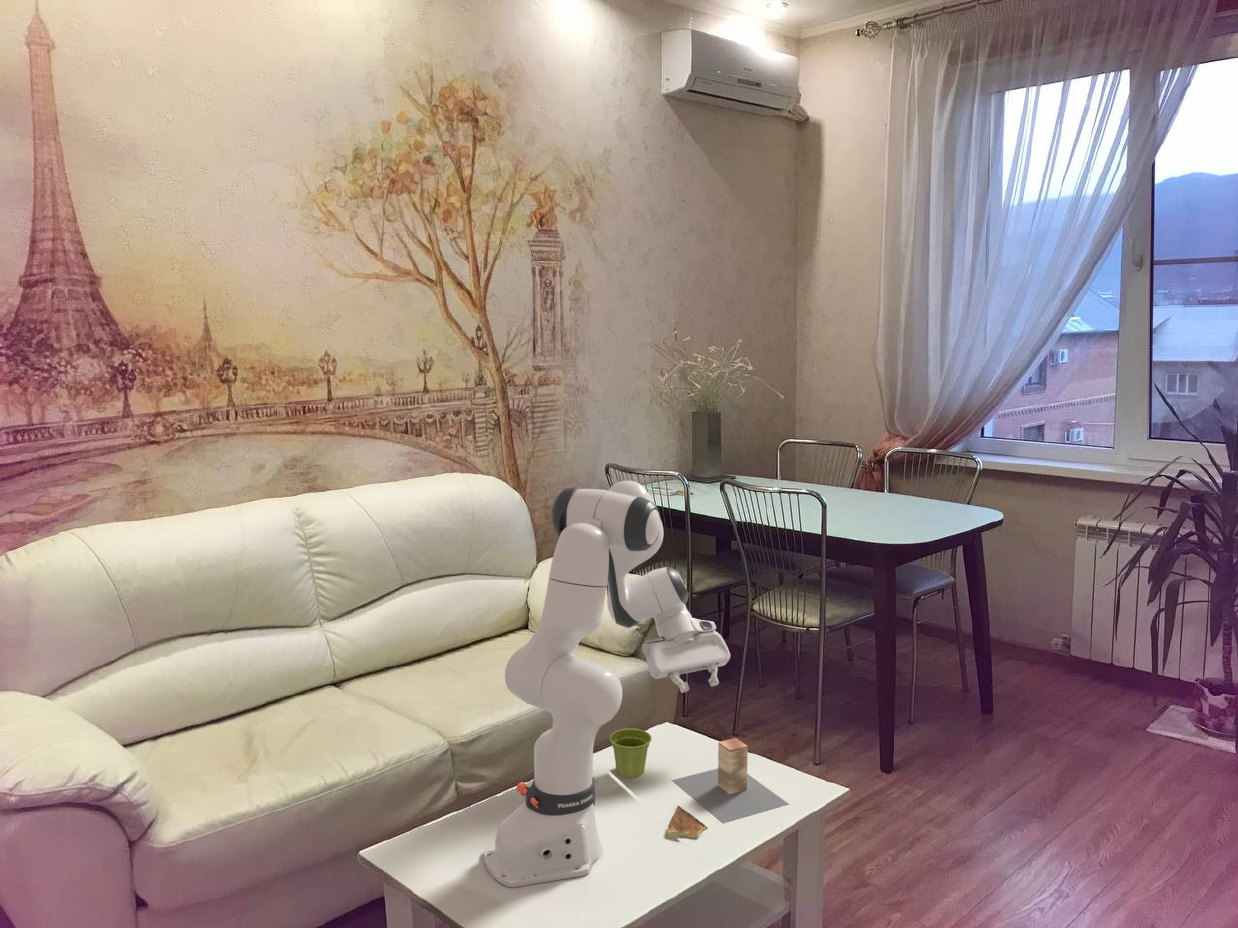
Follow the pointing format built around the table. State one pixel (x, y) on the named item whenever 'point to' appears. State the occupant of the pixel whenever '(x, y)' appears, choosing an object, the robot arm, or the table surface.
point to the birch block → (732, 765)
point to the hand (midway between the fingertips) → (700, 687)
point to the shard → (684, 825)
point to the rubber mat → (729, 796)
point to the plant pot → (630, 751)
